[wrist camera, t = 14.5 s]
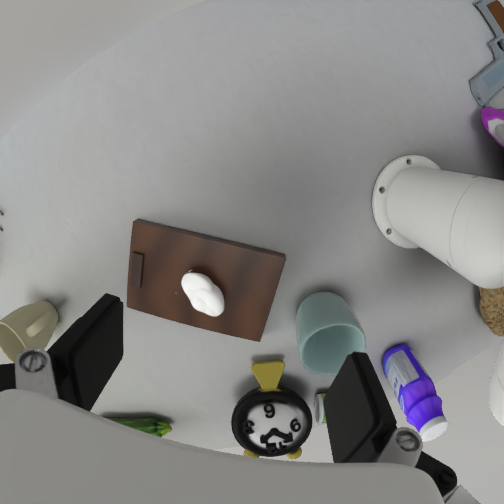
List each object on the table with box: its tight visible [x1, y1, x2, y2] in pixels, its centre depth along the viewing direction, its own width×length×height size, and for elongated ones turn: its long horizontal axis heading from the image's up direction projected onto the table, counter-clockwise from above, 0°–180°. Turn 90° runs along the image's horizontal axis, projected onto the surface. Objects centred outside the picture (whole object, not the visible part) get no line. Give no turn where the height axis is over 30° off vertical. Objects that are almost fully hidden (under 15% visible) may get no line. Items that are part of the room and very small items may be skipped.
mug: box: [0, 301, 58, 363], centre depth 36 cm, size 11×10×12 cm
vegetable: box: [106, 417, 172, 437], centre depth 47 cm, size 7×7×20 cm
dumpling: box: [181, 270, 224, 317], centre depth 36 cm, size 7×5×4 cm
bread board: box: [127, 219, 286, 342], centre depth 38 cm, size 20×13×2 cm, turn 76°
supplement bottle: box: [315, 393, 326, 423], centre depth 42 cm, size 5×5×10 cm
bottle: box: [383, 344, 448, 441], centre depth 34 cm, size 7×6×17 cm
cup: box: [296, 292, 366, 376], centre depth 35 cm, size 8×8×10 cm
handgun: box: [470, 0, 504, 107], centre depth 23 cm, size 4×25×15 cm
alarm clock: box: [231, 360, 312, 459], centre depth 40 cm, size 12×15×15 cm
